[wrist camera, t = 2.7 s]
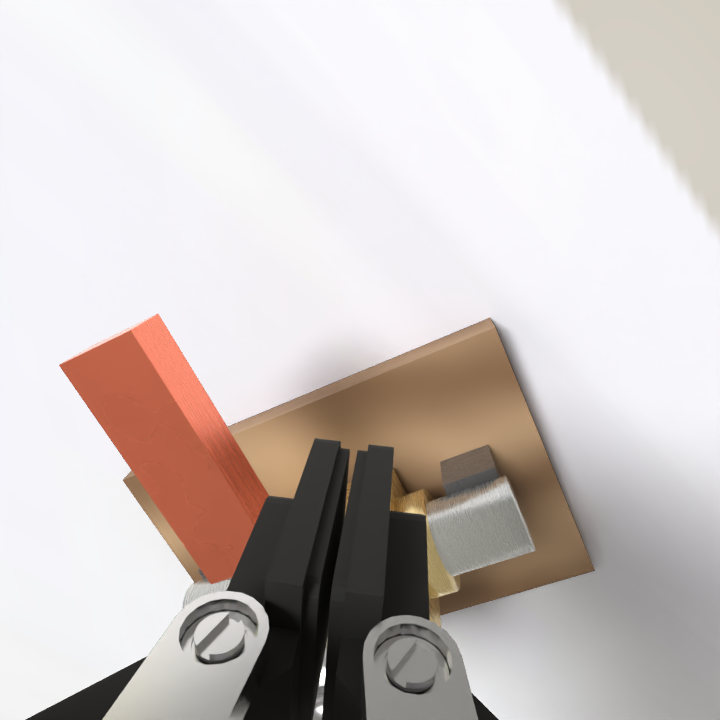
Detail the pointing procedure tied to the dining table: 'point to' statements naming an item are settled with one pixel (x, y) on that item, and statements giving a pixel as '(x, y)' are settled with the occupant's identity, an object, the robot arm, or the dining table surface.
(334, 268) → the dining table surface
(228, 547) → the lever
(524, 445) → the base board
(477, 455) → the ball valve
